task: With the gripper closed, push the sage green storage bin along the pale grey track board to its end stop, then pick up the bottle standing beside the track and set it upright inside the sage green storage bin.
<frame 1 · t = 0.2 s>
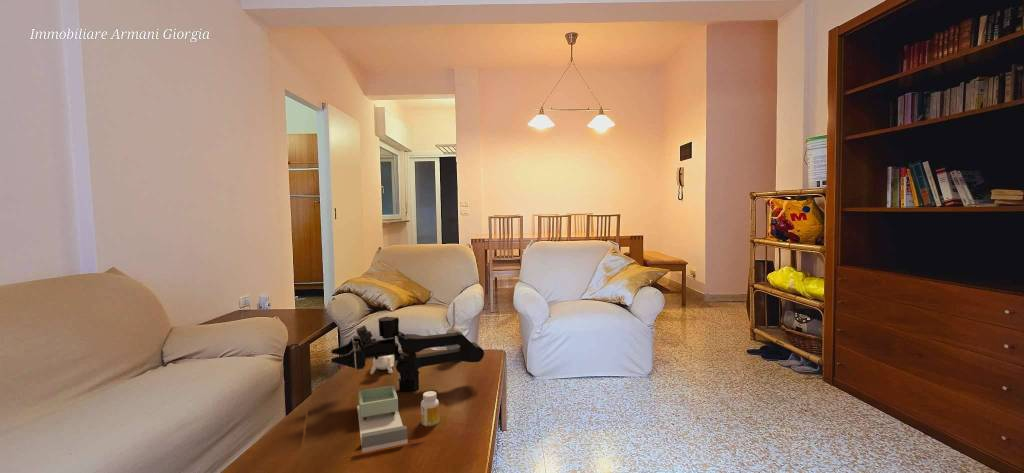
hand: (331, 355, 146), 16 cm above the table, tool horizontal, fingers open, 9 cm apart
sage green storage bin: (378, 403, 138), point 4 cm above the table, slide at 0.0 cm
white animal figurine: (382, 372, 176), on the table
supplement bottle: (430, 425, 132), on the table
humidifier: (454, 359, 190), on the table
track board: (380, 424, 132), on the table
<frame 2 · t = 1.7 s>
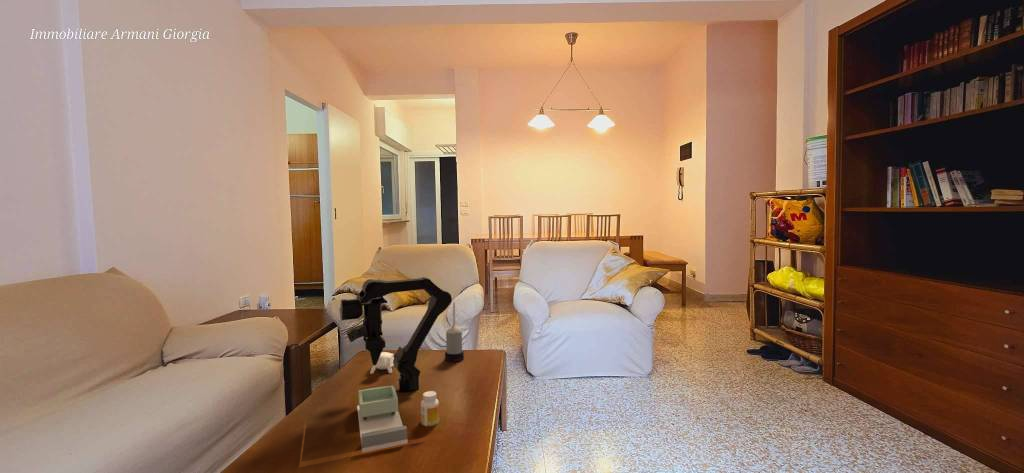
hand: (373, 361, 150), 13 cm above the table, tool pointing down, fingers open, 6 cm apart
nothing on the table moved.
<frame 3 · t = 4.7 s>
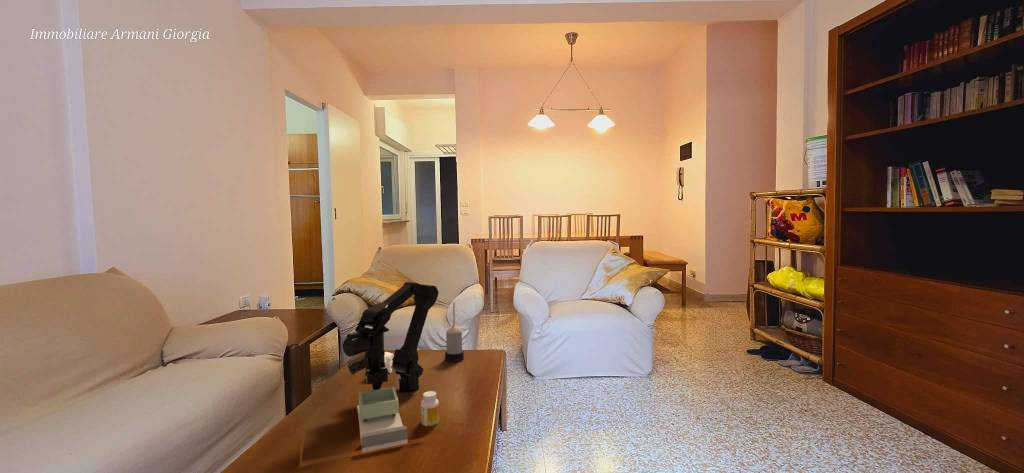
hand: (376, 394, 143), 5 cm above the table, tool pointing down, fingers closed
sage green storage bin: (378, 404, 137), point 4 cm above the table, slide at 1.4 cm, touching gripper
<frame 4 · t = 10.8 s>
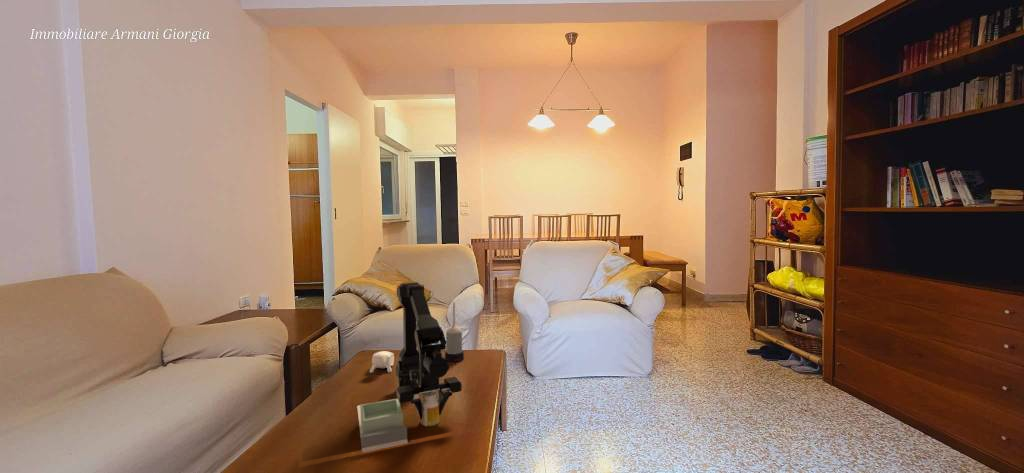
hand: (430, 416, 132), 3 cm above the table, tool pointing down, fingers closed on supplement bottle, 5 cm apart
sage green storage bin: (381, 418, 128), point 4 cm above the table, slide at 11.0 cm
supplement bottle: (430, 425, 132), on the table, touching gripper
when the fingers open (8 cm above the table, at t = 14.5 s): supplement bottle drops 1 cm, resting on sage green storage bin.
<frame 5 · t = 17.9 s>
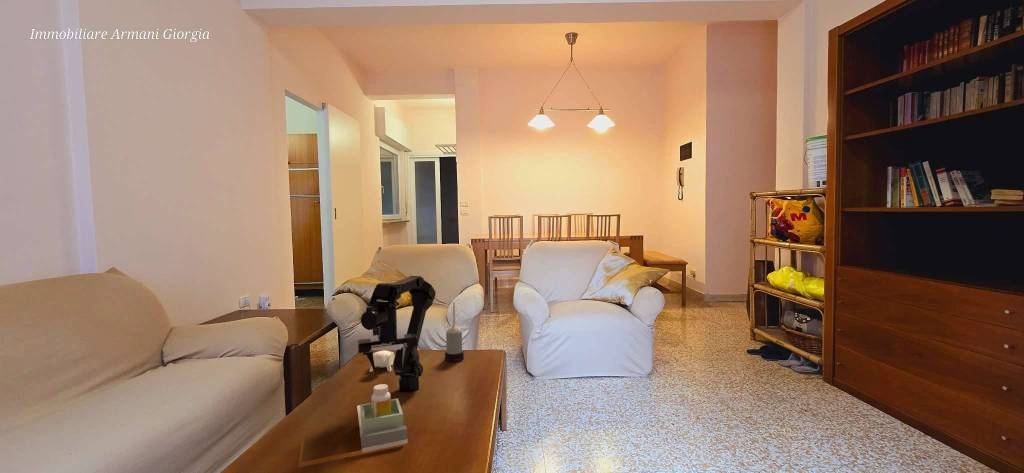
hand: (388, 368, 143), 13 cm above the table, tool pointing down, fingers open, 9 cm apart
sage green storage bin: (381, 418, 128), point 4 cm above the table, slide at 11.0 cm, touching supplement bottle
supplement bottle: (381, 419, 128), point 4 cm above the table, touching sage green storage bin
at the end: sage green storage bin slide at 11.0 cm; supplement bottle inside the target area (0.0 cm from its centre), point 3.6 cm above the table; supplement bottle tilted 0° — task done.
